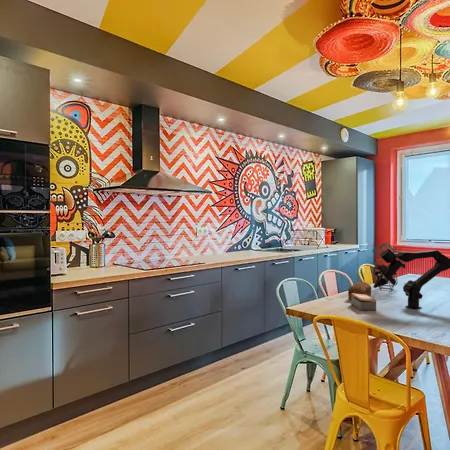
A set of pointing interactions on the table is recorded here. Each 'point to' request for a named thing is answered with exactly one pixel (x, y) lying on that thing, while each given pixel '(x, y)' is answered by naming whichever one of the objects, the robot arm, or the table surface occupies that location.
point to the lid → (363, 297)
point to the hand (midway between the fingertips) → (374, 287)
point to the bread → (359, 289)
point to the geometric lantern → (384, 261)
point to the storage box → (363, 304)
